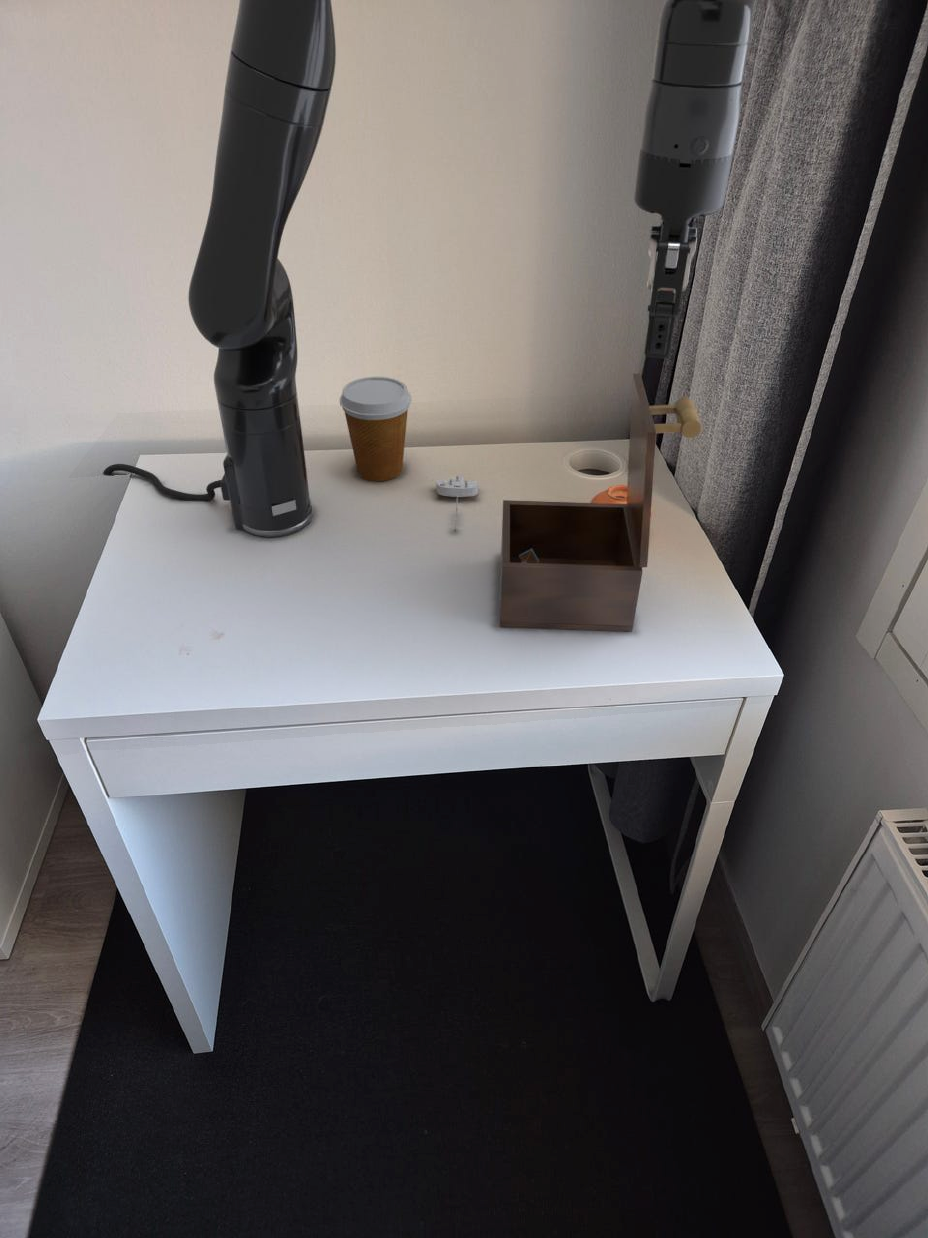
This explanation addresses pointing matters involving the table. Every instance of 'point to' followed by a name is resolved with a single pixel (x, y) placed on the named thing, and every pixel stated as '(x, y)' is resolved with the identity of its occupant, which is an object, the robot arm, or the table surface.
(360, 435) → the disposable coffee cup
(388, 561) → the table surface
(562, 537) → the chest
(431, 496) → the table surface
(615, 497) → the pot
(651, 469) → the lid
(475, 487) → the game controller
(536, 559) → the wooden post with brackets
